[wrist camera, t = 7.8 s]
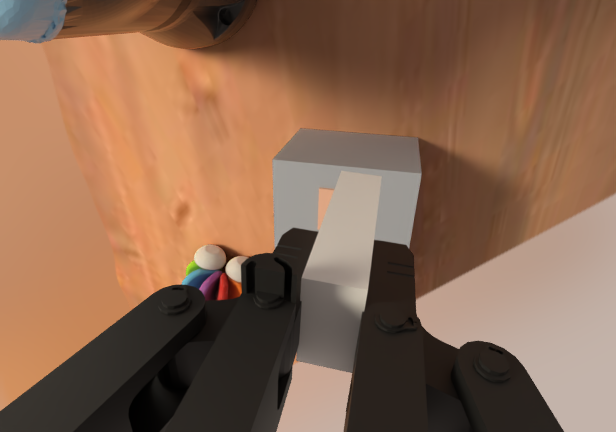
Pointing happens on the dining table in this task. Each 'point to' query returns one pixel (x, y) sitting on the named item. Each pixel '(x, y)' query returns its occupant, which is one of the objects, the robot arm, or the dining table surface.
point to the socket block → (326, 170)
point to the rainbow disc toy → (215, 273)
